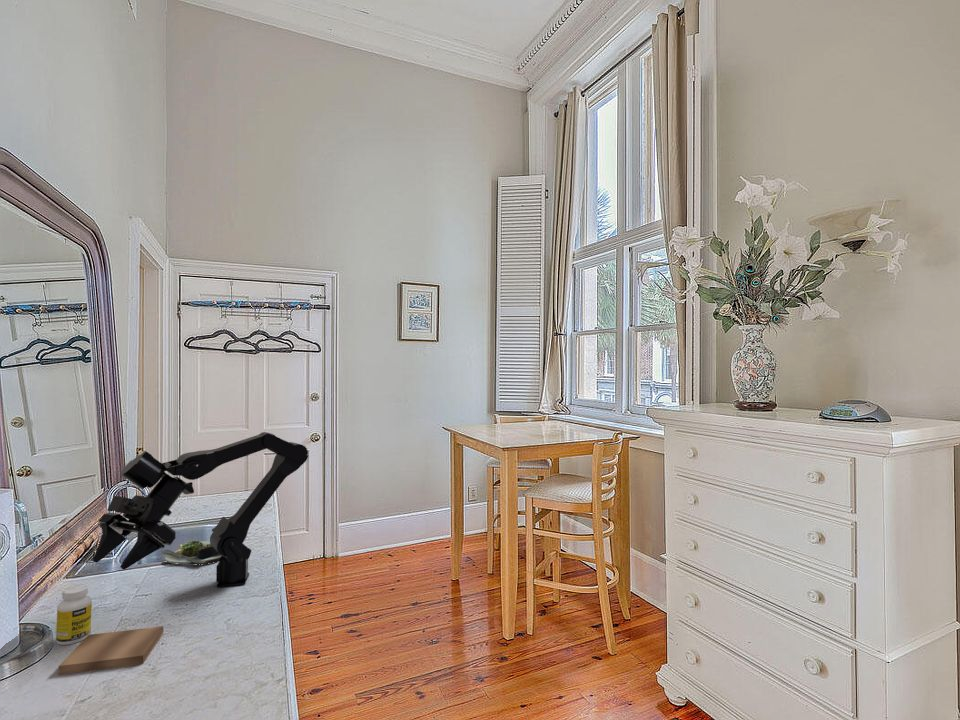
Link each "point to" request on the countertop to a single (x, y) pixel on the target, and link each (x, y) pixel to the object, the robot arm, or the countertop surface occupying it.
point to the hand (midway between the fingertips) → (107, 565)
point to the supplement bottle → (73, 615)
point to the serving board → (112, 650)
